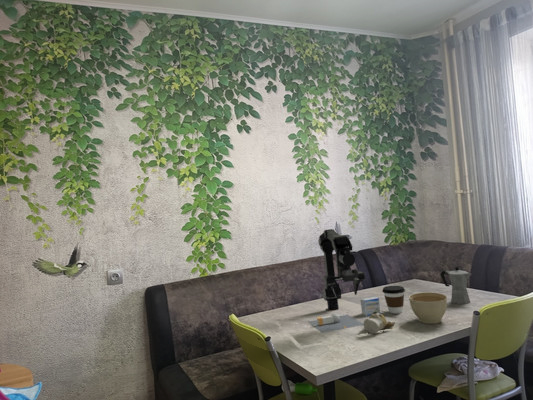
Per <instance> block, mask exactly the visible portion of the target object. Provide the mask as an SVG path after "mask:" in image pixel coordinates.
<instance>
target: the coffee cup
mask: <svg viewBox="0 0 533 400" xmlns="http://www.w3.org/2000/svg"><path fill="white" fill-rule="evenodd" d="M405 292H406V288H405V287H404V286H401V285H386V286H384V287H383V288H382V293H383V294H384V299H385V302H386V307H387V309H388V311H389V313H391V314H395V315H396V314H401V313H403V311H404V305H405V304H404V303H405V302H404V299H405V294H404V293H405Z"/></svg>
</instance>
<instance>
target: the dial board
mask: <svg viewBox="0 0 533 400" xmlns="http://www.w3.org/2000/svg"><path fill="white" fill-rule="evenodd" d="M339 318H340V322H336V323H335V322H334V323H328V324H323V325H318V324H317V319H316V320H311V321H308V324H310V325H311V326H312V327H314V328H315V329H316V330H317V331H319V332H320V333H321V334H325V333H330V332H333V331H340V330H344V329H349V328H354V327H359V326H364V324H363V323H364V322H362V321H359V320H358V319H356V318H355V317H353V316H350V315H349V314H344V315H339Z"/></svg>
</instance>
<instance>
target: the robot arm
mask: <svg viewBox="0 0 533 400" xmlns="http://www.w3.org/2000/svg"><path fill="white" fill-rule="evenodd" d="M318 246H319V249H320V250H321V252H322V253H323V258H324V265H325V268H324V269H325V275H324V276H323V279H322V280H323V283H325V284H324V289H323V293H322V297H323V301H325V302H327V304H326V305H327V308H325V311H328V312H329V311H338V310H339V309H340V308H339V300H340V299H342V289H341V287H340V284H339V283H338V281H343V282H345V283H348V282H352V283H353V292H354V295H355V296H357V293H358V290H359V287H360V283H362V282H363V280H366V273H364V272H363V271H359V270H358V269H357V268H355V269H351V267H352V266H353V265H354V264H355V263H356V257H355V255H354V254H352V253H351V251H353V244H352V243H351V240H350V237H348V235H345V234H339V233H337V232H336V231H335V229H333V228H330V229H325V230H323V233H322V234H320V235H319V237H318ZM334 252H335V260H336V264H335V263H334V255H333V253H334ZM335 267H336V270H337V273H335ZM336 275H337V276H336Z"/></svg>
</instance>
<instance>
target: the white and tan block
mask: <svg viewBox="0 0 533 400" xmlns="http://www.w3.org/2000/svg"><path fill="white" fill-rule="evenodd" d="M339 316H340V314H339V313H332V314H330V315H327V316H318V317H316V320H317V324H318V325H323V324H328V323H334V322H335V323H336V322H340V318H339Z"/></svg>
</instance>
